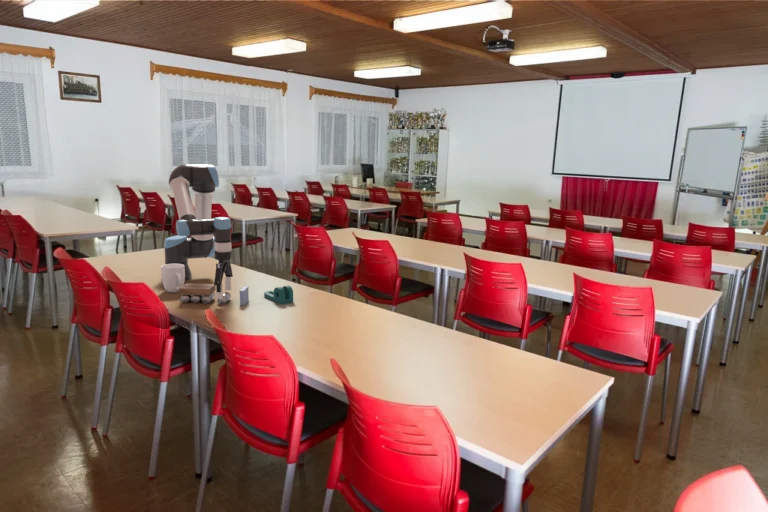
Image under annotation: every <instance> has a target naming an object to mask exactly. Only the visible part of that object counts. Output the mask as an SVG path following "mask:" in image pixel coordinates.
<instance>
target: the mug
mask: <svg viewBox="0 0 768 512" xmlns="http://www.w3.org/2000/svg"><path fill="white" fill-rule="evenodd" d="M160 273H161V282H162V285H163V287H164V289H165V291H166V292H167V293H179V288H180V287H182V286H183V285H185V281H186V280H185V266H184V265H183V264H177V263H173V264H165V263H164V264H162V265H161V266H160Z"/></svg>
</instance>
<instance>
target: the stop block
mask: <svg viewBox="0 0 768 512" xmlns="http://www.w3.org/2000/svg"><path fill="white" fill-rule="evenodd" d="M248 302H249V286H248V285H247V286H246V285H245V286H243V287H241V289H240V290H239V306H245V305H246V304H247V303H248Z"/></svg>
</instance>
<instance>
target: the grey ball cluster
mask: <svg viewBox="0 0 768 512" xmlns="http://www.w3.org/2000/svg"><path fill="white" fill-rule="evenodd" d="M215 297H216V292H215V291H214V292H213V293H212V294H211V295H181V296H180V298H179V301H180V302H181V303H182V304H186V303H189V301H190V302H191V304H192V303H193V304H198V303H200V302H202V303H203V304H204V305H207V304H209V303H210V302H212V301H213V300H214V299H215Z"/></svg>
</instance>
